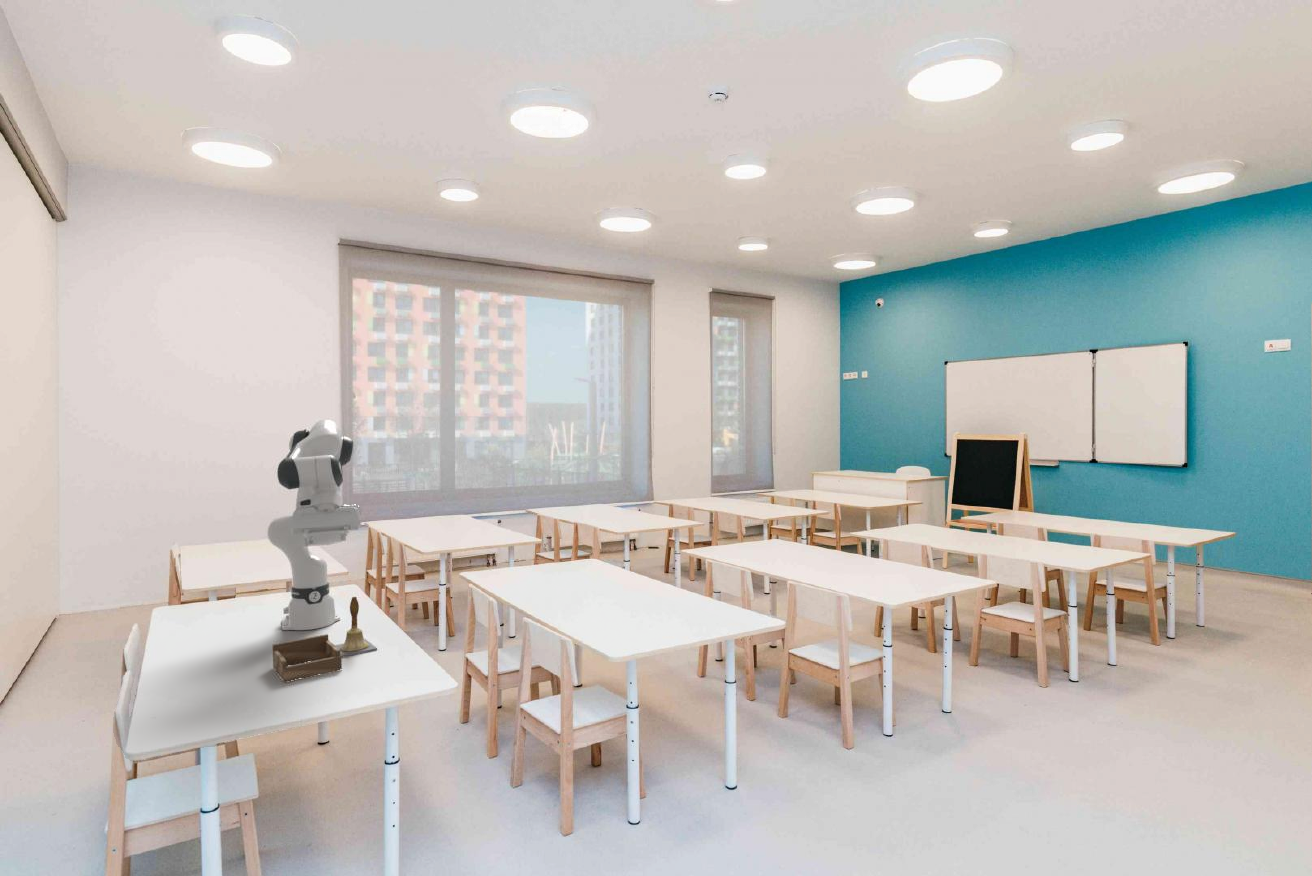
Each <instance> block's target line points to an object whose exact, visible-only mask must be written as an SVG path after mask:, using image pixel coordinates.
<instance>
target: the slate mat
mask: <svg viewBox="0 0 1312 876" xmlns="http://www.w3.org/2000/svg"><path fill="white" fill-rule="evenodd" d="M364 640H365V641H366V642H367V643H368V644H369V647H367V648H366V649H363V650H359V651H352V652H347V651H341V649H340V648H341V646H342V645H343V644H344V643H340V644H334V645H335V646H336V647H337V648H338V649H339V650H340V656H341V657H342V658H344V657H343V656H347V657H350V656H355V654H356V655H359V654H358V653H361V654H363V653H362V652H366V653H370V652H375V651H378V648H377V647H376V646H375V645H374V644H372V643H371V642H370V641H369V640H367V639H365V638H364Z"/></svg>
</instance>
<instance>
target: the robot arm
mask: <svg viewBox="0 0 1312 876" xmlns="http://www.w3.org/2000/svg"><path fill="white" fill-rule="evenodd" d="M354 444H355V443H354V441H353V439H352V438H350V437H347V436H345V435H344V436H343V434H342V430H341V429H340V427H339V425H338V424H337V423H336V422H335V421H333V420H330V419H322V420H318V421H317V422H315V424H314V425H313V426H312V427H311V428H310V430H308V429H306V428H305V429H304V430H297V431H296V432H294V433H293V435H292V436H291V437H290V440H289V443H288V447H289V452H288V454H287V455H286V456H285V457H284V458H283V459H282V460H281V461H280V462H279V464H278V466H277V471H276V473H277V474H276V475H277V476H276V477H277V480H278V483H279V484H280V485H281V486H282V487H283V488H285V489H287V490H295V489H297V495H296V503H295V510H294V511H293V512H292V515H286V516H281V517H278V518H275V519H273V520H272V521H271V522H270V523H269V526H268V527H267V537H268V540H269V542H270V543H271V544H272V545H273V546H274V547H276V548H278V549H279V550H280V551H281V552H282V553H283V554H284V555H285V556H286V558H287V559H288V561H289V563H290V569H291V575H292V586H291V591H290V594H291V595H290V596H291V599H290V601H289V603H288V605H287V606H285V607H283V615H285V616H282V618H281V619H282V620H281V630H282V631H291V630H293V631H309V630H315V629H320V628H321V629H322V628H325V627H328V626H330V625H333V624H334V623H335V622H338V621H340V620H341V616H339V615H336V609H335V599H334V597H333V596H331V595H330V594H329V593H330V584H329V582H328V564H327V561H326V560H325V559H324V558H323V557H321V556H319V555H316V554H313V552H311V551H310V549H309V547H317V546H319V547H320V546H331V545H335V544H339V543H342V542H345V541H346V540H347V536H348V535H349V533H350V531H358V530H360V529H361V525H362V523H361V522H362V521H361V520H362V519H361V514H362V508H361V506H359V505H357V504H349V505H348V504H344V505H343V504H342V499H341V495H340V492H341V485H342V483H343V482H344V479H343V466H345V465H347V464H348V463H349V462H350V461H351V460H352V458H353V457H354V453H355V445H354ZM287 614H288V615H287Z"/></svg>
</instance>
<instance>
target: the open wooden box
mask: <svg viewBox="0 0 1312 876" xmlns="http://www.w3.org/2000/svg"><path fill="white" fill-rule="evenodd" d="M335 645H336V644H334V643H333V642H331V640H329V634H328V633H327V634H321V635H315V636H311V637H306V638H299V639H296V640H294V639H293V640H290V641H289V640H288V641H285V642H279V643H273V644H272V668H274V669H275V670H276V671H275V670H274V669H273V670H274V671H275V673H276V672H277V673H278V674H279V675H278V674H277V673H276V674H277V675H278V676H280V677H281V678H282V679H283V681H284V682H286V683H288V682H287V681H290V682H292V681H291V680H295V679H299V678H304V679H308V678H311V677H310V676H313V677H315V676H314V675H317V676H319V675H318V674H322V675H327V674H329V672H331V673H334V672H333V671H335V672H338V671H337V670H340V669H342V658H341V656H340V650H339V649H338V648H337V647H336V646H335ZM308 661H311V662H308ZM305 662H306V663H305ZM300 663H301V664H300ZM296 664H297V665H296ZM288 665H292V666H288ZM340 671H341V670H340ZM280 677H279V678H280ZM307 677H308V678H307ZM281 678H280V679H281ZM282 679H281V680H282ZM299 680H300V679H299ZM283 681H282V682H283ZM295 681H296V680H295ZM284 682H283V683H284Z"/></svg>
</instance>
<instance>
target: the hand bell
mask: <svg viewBox="0 0 1312 876" xmlns="http://www.w3.org/2000/svg"><path fill="white" fill-rule="evenodd" d="M350 600H351V601H350V604H349V613H350V616H351V625H350V626H351V628H350V629H348V630H347V631H346V635H345V636H346V637H345V641H344V643H342V644H343V645H342V646H341V648H340V649H341V651H347V652H352V651H359V650H363V649H366V648H367V647H369V644H368V643H367V642H366V641H365V640H364V639H365V638H364V634H363V630H362V629H361V628H358V615H359V609H360V606H359V601H358V599H357V596H352V597H351V599H350Z"/></svg>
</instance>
